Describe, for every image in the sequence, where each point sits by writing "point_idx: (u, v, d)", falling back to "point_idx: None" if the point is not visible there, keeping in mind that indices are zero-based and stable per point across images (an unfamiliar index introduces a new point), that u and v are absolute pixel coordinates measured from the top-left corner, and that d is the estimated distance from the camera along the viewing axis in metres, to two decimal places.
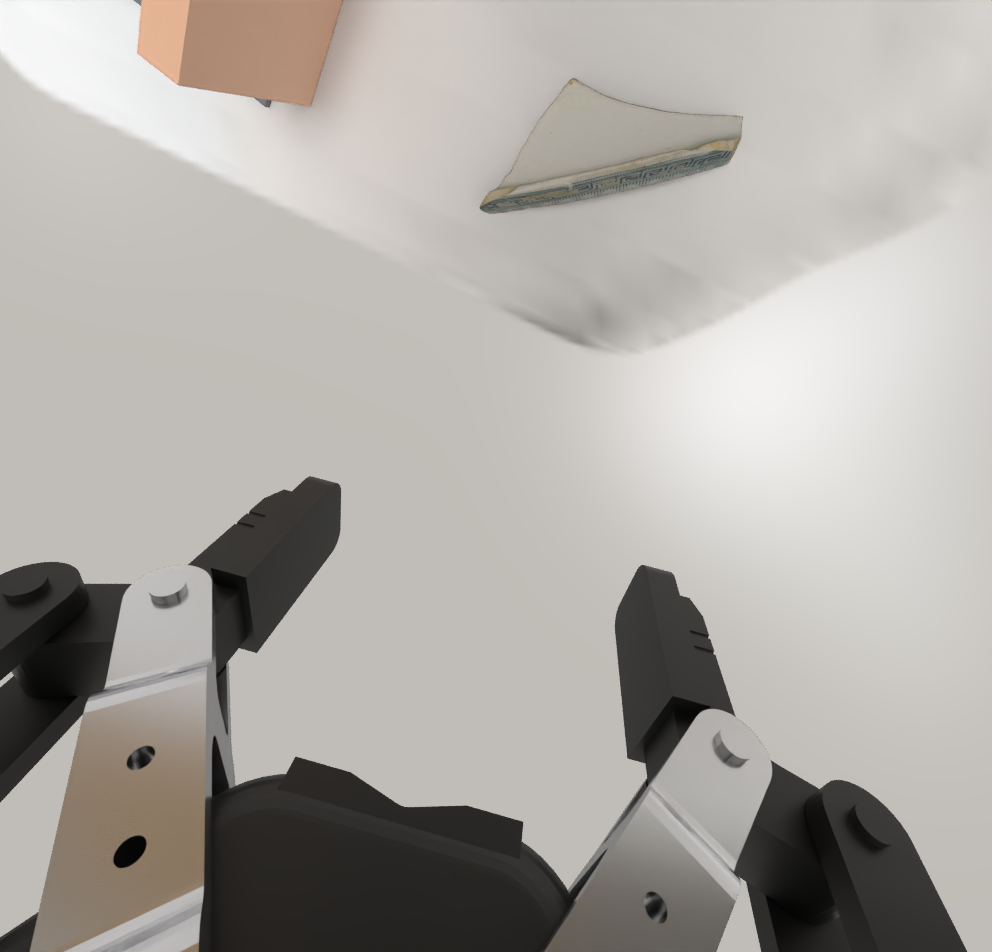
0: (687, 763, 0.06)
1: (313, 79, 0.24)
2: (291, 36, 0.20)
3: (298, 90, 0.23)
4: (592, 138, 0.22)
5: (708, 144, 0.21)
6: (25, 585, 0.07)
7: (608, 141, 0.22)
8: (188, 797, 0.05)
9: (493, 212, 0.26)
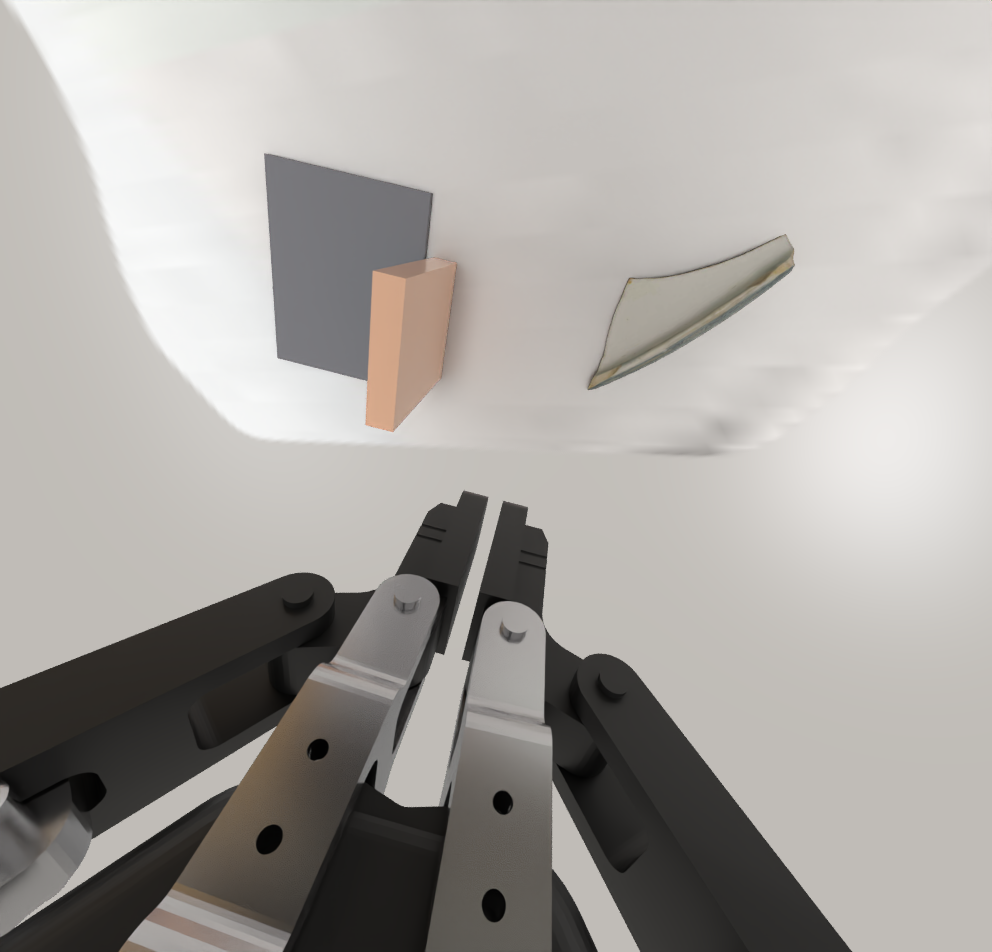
0: (488, 663, 0.07)
1: (441, 362, 0.31)
2: (432, 353, 0.28)
3: (435, 376, 0.31)
4: (664, 308, 0.27)
5: (772, 273, 0.24)
6: (297, 594, 0.07)
7: (679, 304, 0.27)
8: (325, 820, 0.05)
9: None
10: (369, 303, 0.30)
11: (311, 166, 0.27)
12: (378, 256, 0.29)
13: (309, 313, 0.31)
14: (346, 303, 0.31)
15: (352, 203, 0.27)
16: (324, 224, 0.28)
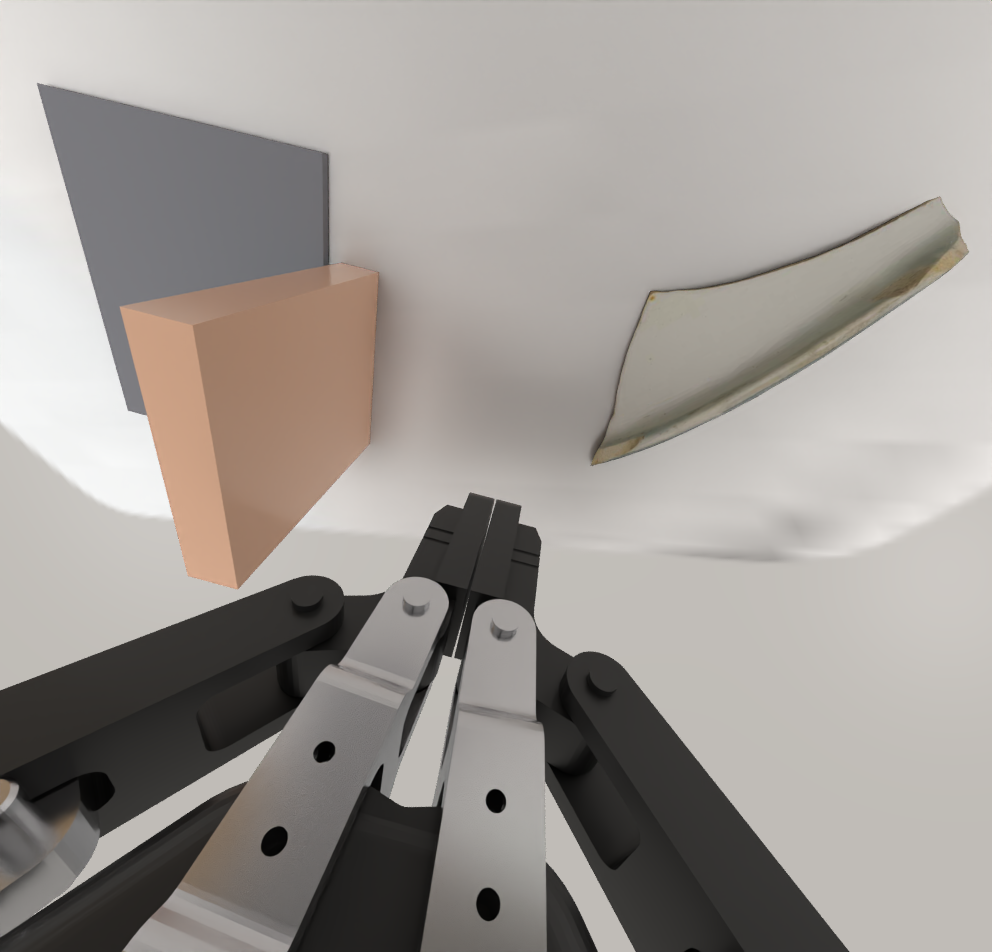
0: (479, 662, 0.07)
1: (366, 424, 0.20)
2: (337, 422, 0.17)
3: (355, 447, 0.20)
4: (714, 340, 0.16)
5: (931, 271, 0.12)
6: (306, 598, 0.07)
7: (740, 332, 0.15)
8: (330, 824, 0.05)
9: None
10: None
11: (118, 106, 0.15)
12: (251, 261, 0.18)
13: None
14: None
15: (196, 171, 0.16)
16: (157, 207, 0.17)
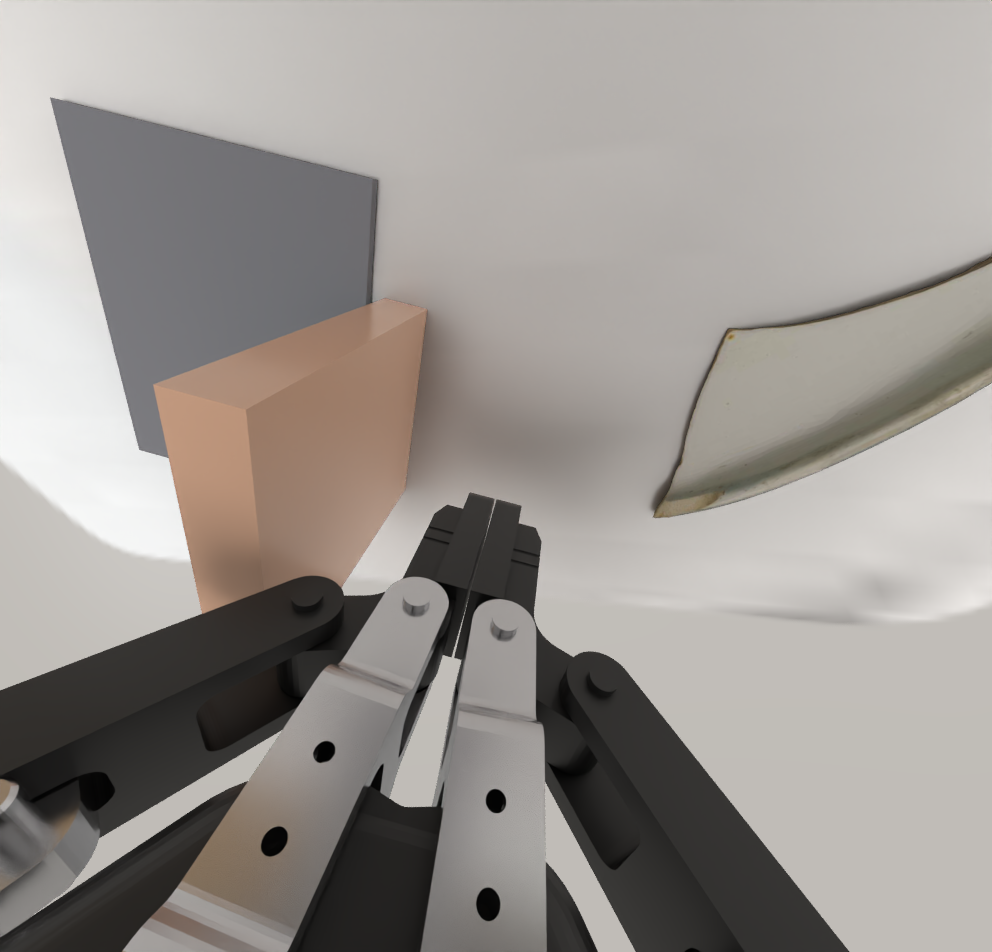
0: (479, 662, 0.07)
1: (404, 470, 0.19)
2: (379, 477, 0.15)
3: (393, 498, 0.18)
4: (806, 383, 0.14)
5: None
6: (306, 598, 0.07)
7: (839, 375, 0.13)
8: (330, 824, 0.05)
9: None
10: None
11: (141, 124, 0.14)
12: (284, 295, 0.16)
13: None
14: None
15: (227, 197, 0.14)
16: (181, 236, 0.15)
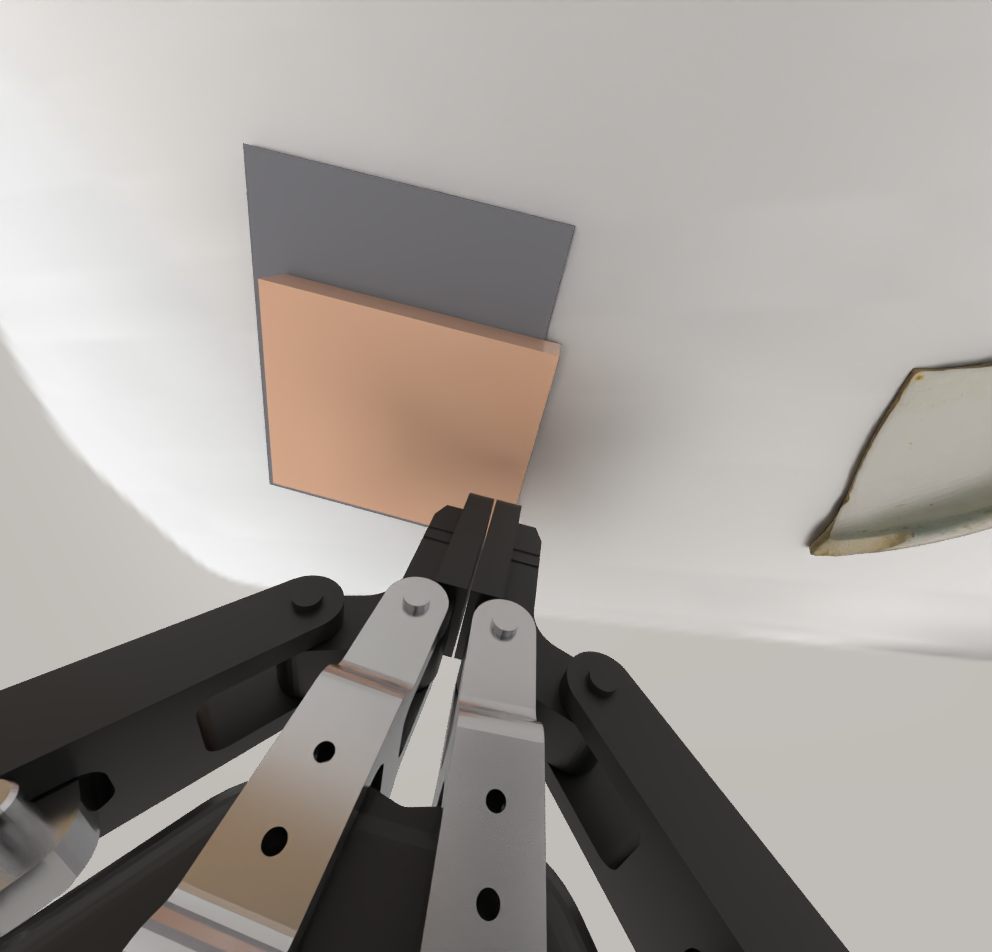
0: (478, 662, 0.07)
1: None
2: (430, 466, 0.16)
3: None
4: None
5: None
6: (306, 598, 0.07)
7: None
8: (330, 824, 0.05)
9: None
10: None
11: (336, 170, 0.14)
12: None
13: None
14: None
15: (413, 242, 0.14)
16: (357, 279, 0.15)
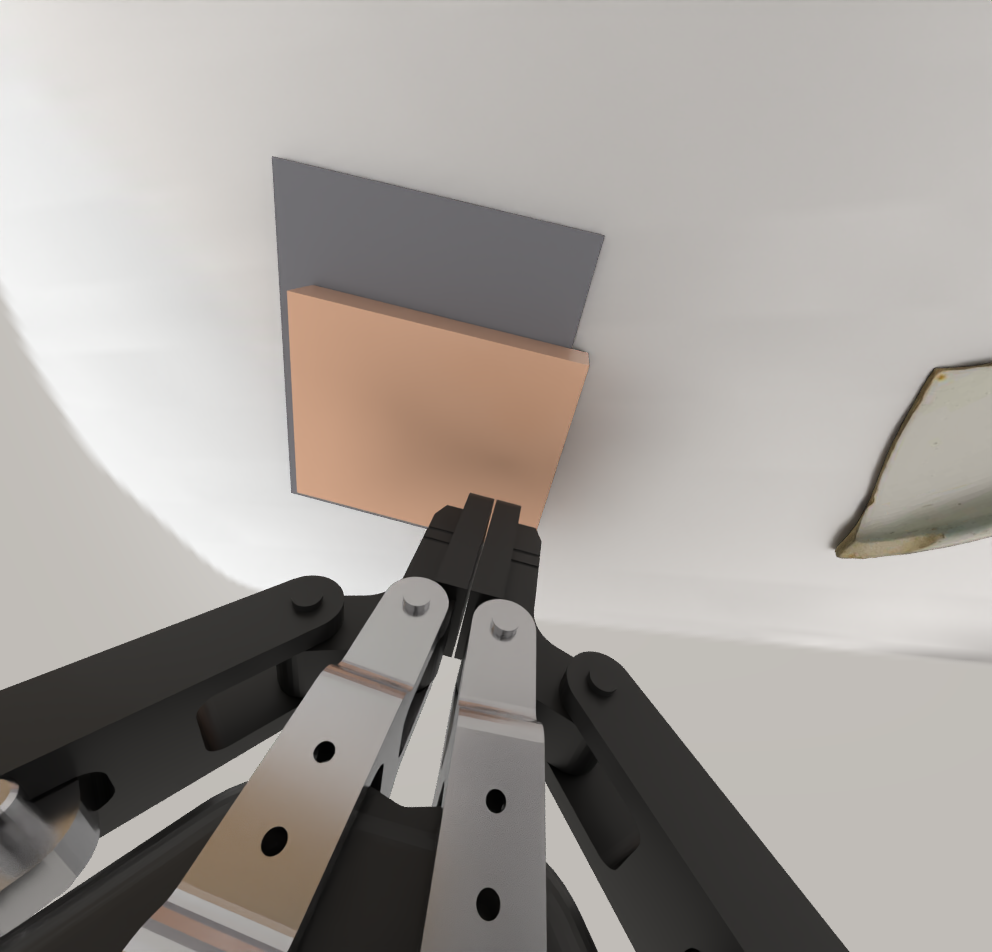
0: (479, 662, 0.07)
1: None
2: (456, 475, 0.16)
3: None
4: None
5: None
6: (306, 598, 0.07)
7: None
8: (330, 824, 0.05)
9: None
10: None
11: (365, 182, 0.14)
12: None
13: None
14: None
15: (441, 252, 0.14)
16: (384, 289, 0.15)
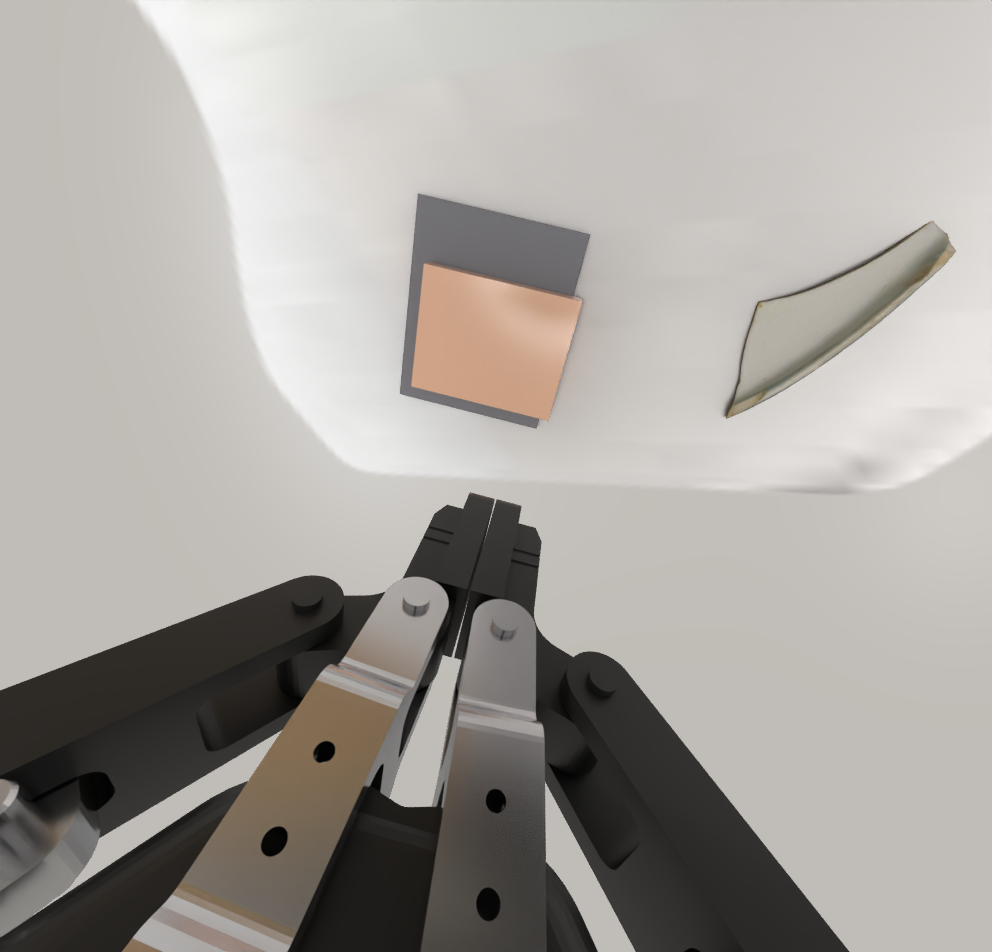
0: (478, 662, 0.07)
1: (545, 401, 0.30)
2: (508, 370, 0.29)
3: (527, 406, 0.30)
4: (805, 324, 0.26)
5: (934, 265, 0.22)
6: (306, 598, 0.07)
7: (822, 317, 0.25)
8: (330, 824, 0.05)
9: None
10: None
11: (466, 207, 0.26)
12: None
13: None
14: None
15: (504, 243, 0.27)
16: (471, 264, 0.28)
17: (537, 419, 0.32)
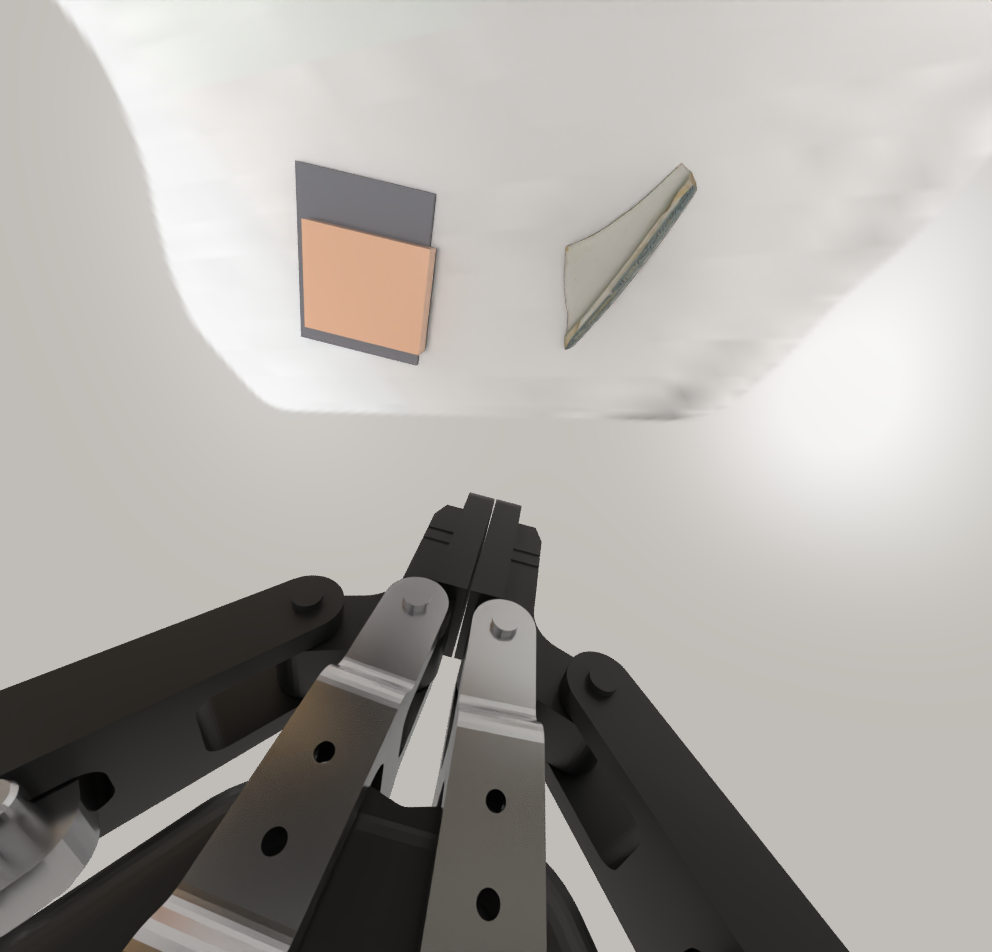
0: (479, 662, 0.07)
1: (414, 337, 0.35)
2: (380, 310, 0.35)
3: (400, 342, 0.36)
4: (601, 259, 0.31)
5: (675, 198, 0.28)
6: (306, 598, 0.07)
7: (612, 252, 0.31)
8: (330, 824, 0.05)
9: (574, 344, 0.35)
10: None
11: (334, 171, 0.32)
12: None
13: None
14: None
15: (368, 202, 0.33)
16: (344, 220, 0.33)
17: (416, 357, 0.38)
